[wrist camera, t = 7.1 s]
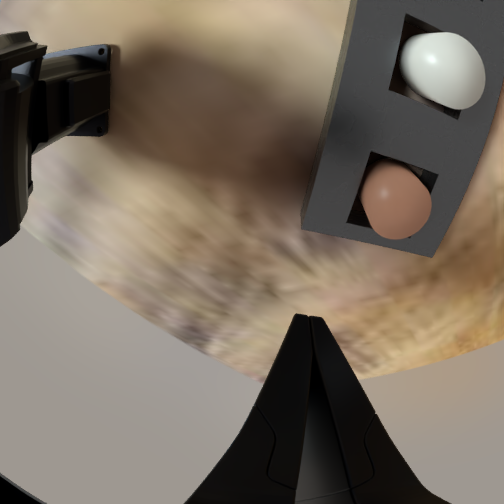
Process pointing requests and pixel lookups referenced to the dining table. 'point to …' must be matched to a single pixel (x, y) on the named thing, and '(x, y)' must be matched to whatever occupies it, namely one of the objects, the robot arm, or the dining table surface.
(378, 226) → the terracotta button
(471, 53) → the white button
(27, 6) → the dining table surface
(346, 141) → the button panel
